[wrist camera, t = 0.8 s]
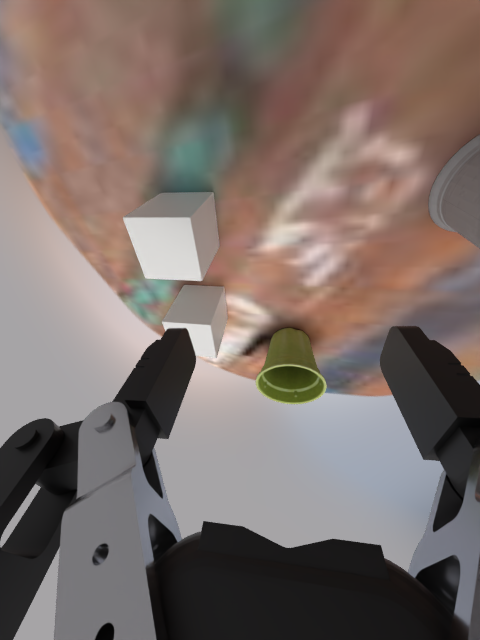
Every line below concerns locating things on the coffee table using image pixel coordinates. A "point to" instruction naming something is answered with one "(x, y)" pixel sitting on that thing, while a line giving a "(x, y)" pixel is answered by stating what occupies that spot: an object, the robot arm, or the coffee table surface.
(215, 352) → the light grey rectangular block
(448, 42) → the coffee table surface
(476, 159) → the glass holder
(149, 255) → the left white block
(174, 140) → the coffee table surface
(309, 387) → the plant pot
